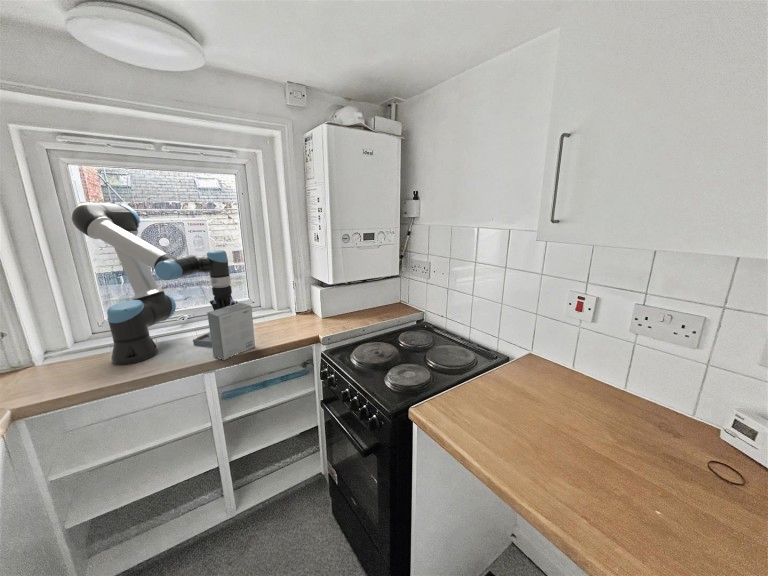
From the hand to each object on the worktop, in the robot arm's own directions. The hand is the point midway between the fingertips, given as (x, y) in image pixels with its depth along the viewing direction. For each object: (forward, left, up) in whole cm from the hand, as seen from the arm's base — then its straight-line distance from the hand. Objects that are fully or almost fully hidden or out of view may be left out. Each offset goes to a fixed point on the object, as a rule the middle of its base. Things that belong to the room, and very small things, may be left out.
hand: (228, 335), depth 136 cm
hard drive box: (+8, -6, -5) cm, 11 cm away
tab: (-7, 0, -3) cm, 8 cm away
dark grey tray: (-10, +6, -5) cm, 12 cm away
